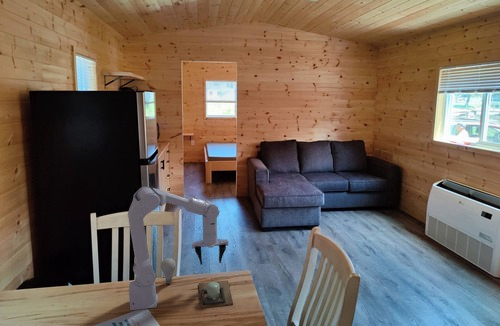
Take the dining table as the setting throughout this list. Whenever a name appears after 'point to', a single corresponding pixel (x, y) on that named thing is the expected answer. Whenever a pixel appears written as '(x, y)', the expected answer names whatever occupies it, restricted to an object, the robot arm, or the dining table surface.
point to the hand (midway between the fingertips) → (210, 262)
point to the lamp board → (226, 292)
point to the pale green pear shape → (213, 291)
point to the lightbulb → (168, 269)
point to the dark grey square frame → (213, 300)
